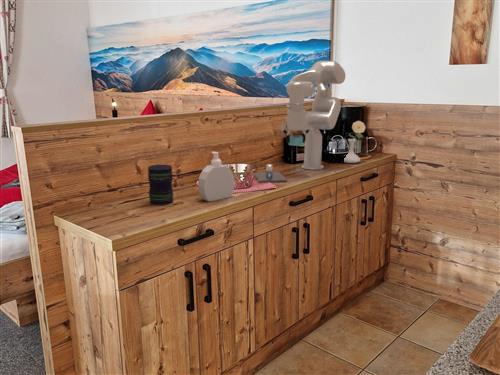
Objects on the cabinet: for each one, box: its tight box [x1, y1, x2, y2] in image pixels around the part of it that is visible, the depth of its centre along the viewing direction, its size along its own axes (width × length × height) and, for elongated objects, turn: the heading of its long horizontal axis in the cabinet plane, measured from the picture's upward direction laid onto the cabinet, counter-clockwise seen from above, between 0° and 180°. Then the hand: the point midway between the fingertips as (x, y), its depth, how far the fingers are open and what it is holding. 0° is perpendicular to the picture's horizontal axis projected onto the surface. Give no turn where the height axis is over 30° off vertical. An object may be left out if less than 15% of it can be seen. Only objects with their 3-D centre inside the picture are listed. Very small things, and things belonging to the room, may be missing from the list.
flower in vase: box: [344, 120, 367, 164], centre depth 275 cm, size 13×11×25 cm
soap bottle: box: [197, 151, 235, 202], centre depth 197 cm, size 16×5×20 cm, turn 130°
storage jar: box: [147, 164, 174, 206], centre depth 191 cm, size 10×10×15 cm
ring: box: [287, 135, 304, 147], centre depth 237 cm, size 7×7×4 cm
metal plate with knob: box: [254, 163, 288, 184], centre depth 236 cm, size 20×14×7 cm
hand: (295, 142), depth 237 cm, fingers closed on ring, 7 cm apart
